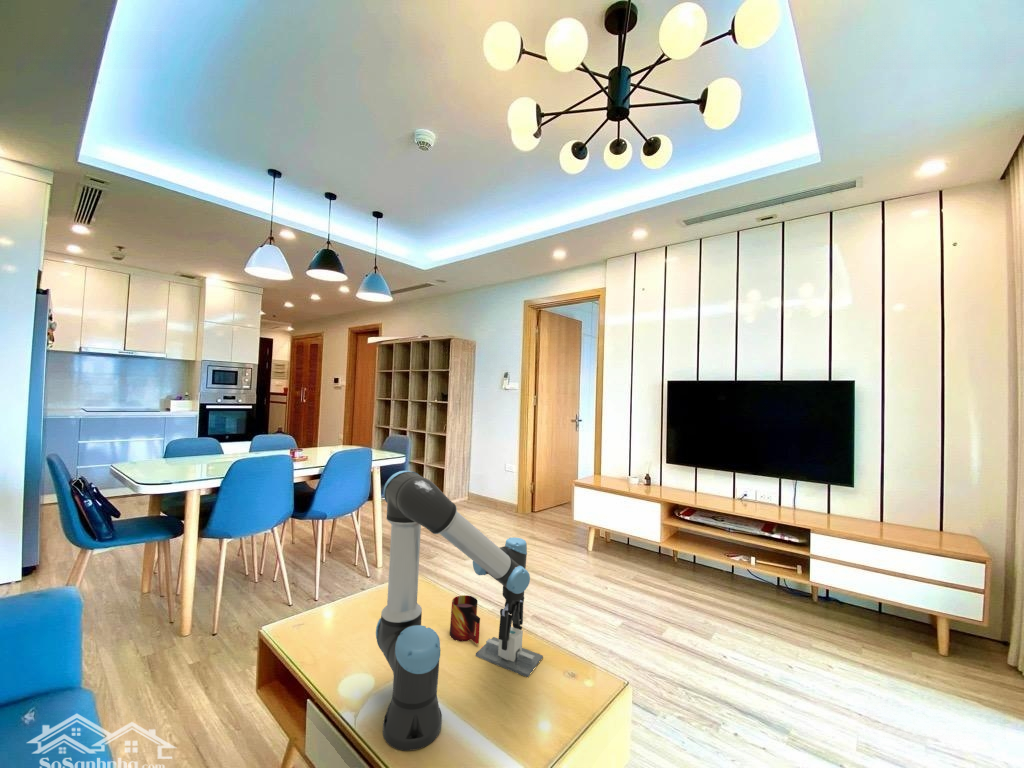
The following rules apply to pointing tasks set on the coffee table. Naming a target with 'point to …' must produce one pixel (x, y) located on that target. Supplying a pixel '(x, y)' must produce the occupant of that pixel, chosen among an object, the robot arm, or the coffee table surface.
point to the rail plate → (521, 665)
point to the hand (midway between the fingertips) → (509, 653)
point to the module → (513, 643)
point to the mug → (464, 619)
